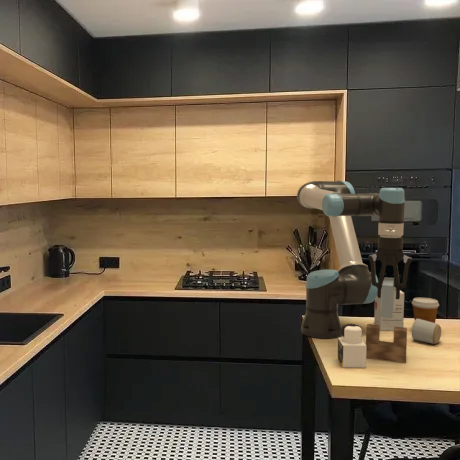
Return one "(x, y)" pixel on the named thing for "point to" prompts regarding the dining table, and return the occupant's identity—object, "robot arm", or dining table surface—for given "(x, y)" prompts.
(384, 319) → the supplement box
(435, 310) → the disposable coffee cup
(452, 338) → the dining table surface
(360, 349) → the medicine bottle
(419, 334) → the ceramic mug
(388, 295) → the slate plate
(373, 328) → the walnut stand
